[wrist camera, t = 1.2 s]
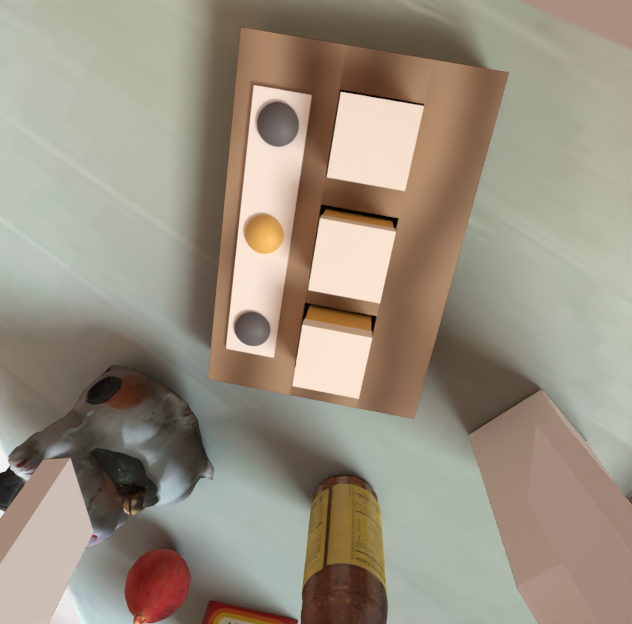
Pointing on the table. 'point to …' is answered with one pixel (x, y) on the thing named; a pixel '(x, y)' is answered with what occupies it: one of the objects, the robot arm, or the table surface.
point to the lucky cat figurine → (118, 450)
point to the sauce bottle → (344, 556)
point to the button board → (362, 207)
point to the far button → (333, 351)
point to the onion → (156, 585)
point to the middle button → (352, 255)
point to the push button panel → (266, 217)
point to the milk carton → (527, 509)
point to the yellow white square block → (374, 141)
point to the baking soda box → (240, 615)
